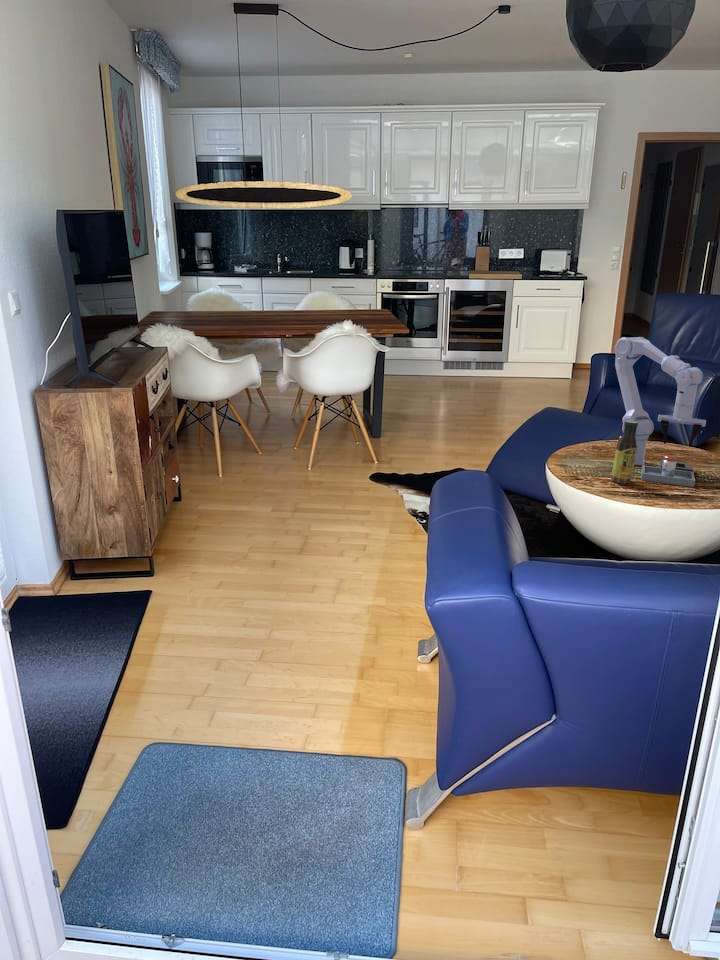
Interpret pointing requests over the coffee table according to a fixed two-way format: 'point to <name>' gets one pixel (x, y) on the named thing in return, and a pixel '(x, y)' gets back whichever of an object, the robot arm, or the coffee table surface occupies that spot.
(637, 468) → the coffee table surface
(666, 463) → the small white jar
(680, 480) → the tray
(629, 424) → the sauce bottle
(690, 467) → the hitch block
